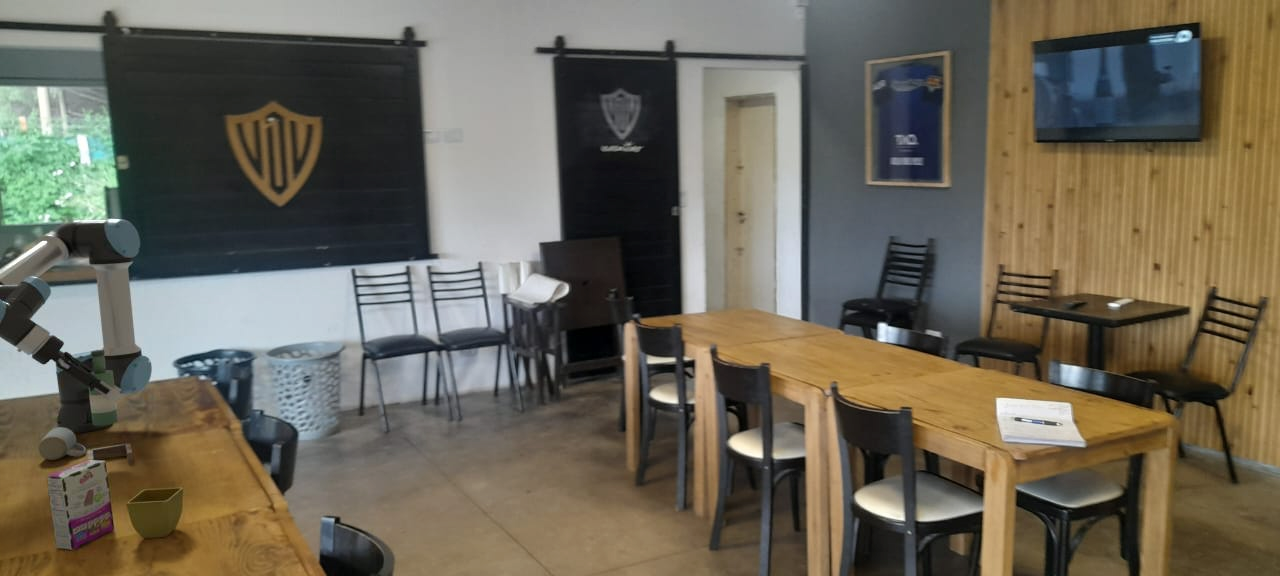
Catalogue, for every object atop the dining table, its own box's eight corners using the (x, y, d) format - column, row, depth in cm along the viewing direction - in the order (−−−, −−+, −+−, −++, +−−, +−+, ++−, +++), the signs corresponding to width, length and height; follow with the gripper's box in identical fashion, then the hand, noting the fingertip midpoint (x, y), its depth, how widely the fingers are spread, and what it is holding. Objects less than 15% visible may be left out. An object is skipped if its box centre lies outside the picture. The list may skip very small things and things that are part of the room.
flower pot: (147, 526, 208) (143, 488, 207) (187, 524, 209) (183, 486, 208) (129, 543, 200) (125, 503, 198) (171, 540, 200) (167, 501, 199)
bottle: (100, 419, 256) (92, 349, 253) (122, 419, 256) (115, 348, 253) (87, 426, 250) (79, 353, 247) (110, 425, 250) (103, 352, 247)
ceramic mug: (38, 463, 255) (35, 436, 254) (47, 454, 263) (45, 427, 262) (81, 459, 258) (78, 432, 257) (89, 450, 266) (87, 424, 265)
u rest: (88, 460, 257) (87, 449, 256) (131, 453, 262) (130, 442, 261) (89, 470, 248) (88, 459, 247) (133, 463, 253) (132, 452, 253)
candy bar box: (97, 528, 208) (89, 458, 206) (115, 530, 207) (107, 460, 204) (54, 549, 197) (45, 475, 195) (72, 551, 196) (63, 477, 194)
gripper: (31, 350, 250) (106, 399, 261) (28, 362, 234) (109, 414, 245) (52, 328, 252) (126, 378, 263) (51, 339, 236) (130, 392, 247)
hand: (118, 396), depth 254 cm, fingers closed on bottle, 6 cm apart
